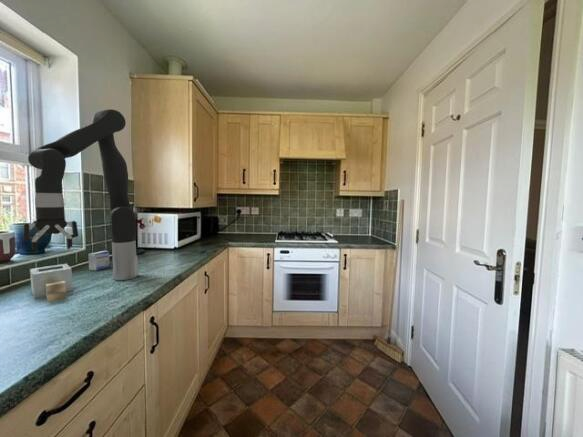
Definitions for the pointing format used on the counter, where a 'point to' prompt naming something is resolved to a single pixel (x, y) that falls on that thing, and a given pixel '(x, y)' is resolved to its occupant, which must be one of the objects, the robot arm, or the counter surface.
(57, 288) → the tan brown box
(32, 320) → the counter surface
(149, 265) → the counter surface
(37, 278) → the money box
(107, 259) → the medicine box
